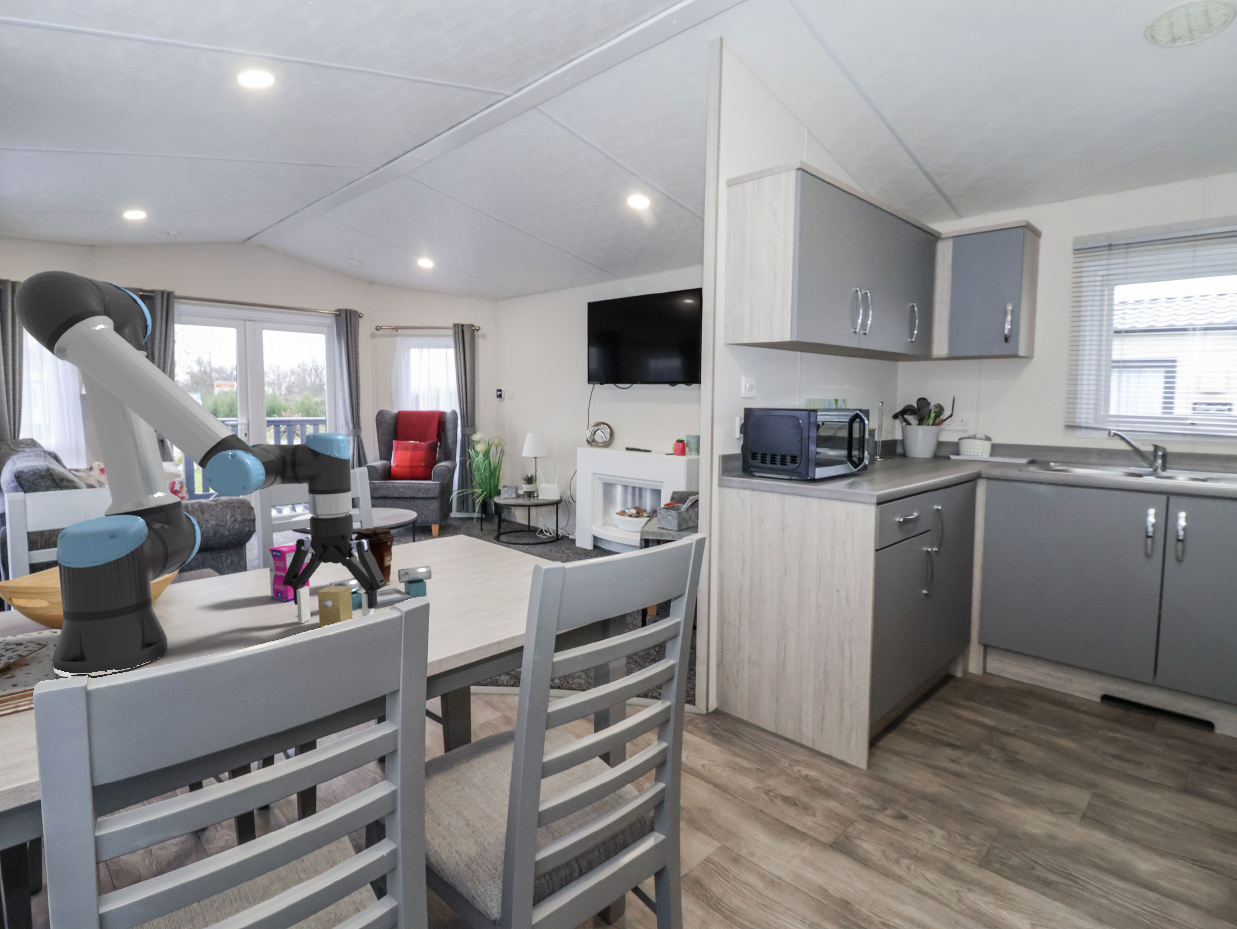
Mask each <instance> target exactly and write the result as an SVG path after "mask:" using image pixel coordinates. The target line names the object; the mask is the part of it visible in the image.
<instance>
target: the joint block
mask: <svg viewBox="0 0 1237 929" xmlns="http://www.w3.org/2000/svg"><path fill="white" fill-rule="evenodd" d="M317 596H318V597H317V599H318V600H317V601H318V620H319V622H318V623H319V628H323V627H322V626H325V625H330V624H334V623H337V622H342V621H345V620H348V619H353V610H352V595H351V587H348V586H329V585H328V586H326V587H325V588H322V589H320V590H318V591H317Z"/></svg>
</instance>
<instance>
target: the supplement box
mask: <svg viewBox="0 0 1237 929" xmlns="http://www.w3.org/2000/svg"><path fill="white" fill-rule="evenodd" d="M295 551H296V542H295V543H293V542H288V543H287V542H286V543H284V544H280V545H276V546H272V547H268V548H267V552H268V566H269V567H268V568H269V583H270V597H271V599H274V600H275V599H276V600H280V601H284V602H288V603H289V602H294V592H293V588H292V587H291V586H288V585H287V586H285V585H284V584H283V580H284V578H285V575H286V573H287V571H288V568H289V566H290V563H291V561H292V558H293V556H294V554H295ZM308 562H309V555H308V554H307V556H306V559H305V561H304V564H303V566H302V569H301V571H300V573H301V572H302V570H303V569H304V568H305V566H306V565H307V564H308ZM300 573H299V574H300ZM305 586H309V595H310V596H311V588H310V586H311V585H310V579H309V580H308V581H307V582H306V585H304V587H305Z"/></svg>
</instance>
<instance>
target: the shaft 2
mask: <svg viewBox="0 0 1237 929" xmlns="http://www.w3.org/2000/svg"><path fill="white" fill-rule="evenodd" d="M432 574H433V573H432V568H431V566H430V565H425V566H418V567H409V568H401V569H398V572H397V576H398V582H399V584H403V583H404V593H406V594H408V595H410V596H411V597H412V599H414V598H413V597H415V598H420V597H419V596H421V597H426V596H427V594H428V593H427V582H426V581H427V580H431V579H432V576H433V575H432ZM425 595H426V596H425Z"/></svg>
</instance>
